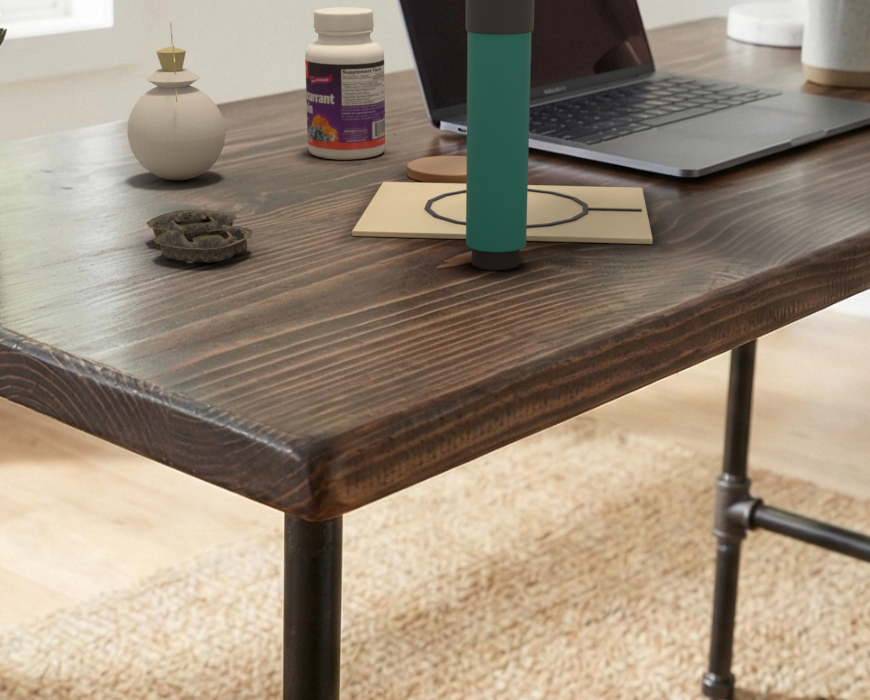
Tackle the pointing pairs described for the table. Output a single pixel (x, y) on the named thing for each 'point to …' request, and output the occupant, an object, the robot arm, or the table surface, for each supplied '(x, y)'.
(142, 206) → the table surface
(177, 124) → the ornament
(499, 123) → the cylinder
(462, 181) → the coaster
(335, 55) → the pill bottle
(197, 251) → the corroded twin loop
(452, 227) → the yellow board
